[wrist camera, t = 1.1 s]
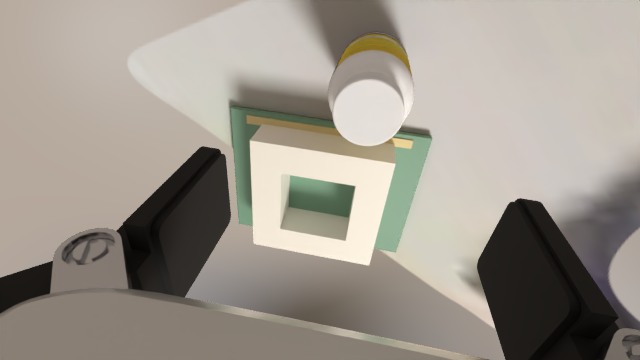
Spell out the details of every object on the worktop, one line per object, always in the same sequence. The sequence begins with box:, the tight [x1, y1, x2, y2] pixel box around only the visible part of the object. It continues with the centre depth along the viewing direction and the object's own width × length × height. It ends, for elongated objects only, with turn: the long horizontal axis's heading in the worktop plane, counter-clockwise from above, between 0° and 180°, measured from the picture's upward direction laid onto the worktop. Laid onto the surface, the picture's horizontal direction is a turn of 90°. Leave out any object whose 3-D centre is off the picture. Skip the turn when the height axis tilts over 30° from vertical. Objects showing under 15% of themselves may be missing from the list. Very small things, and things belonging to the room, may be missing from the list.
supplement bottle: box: [328, 32, 414, 146], centre depth 22 cm, size 5×5×10 cm
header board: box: [231, 106, 432, 265], centre depth 31 cm, size 18×14×4 cm
